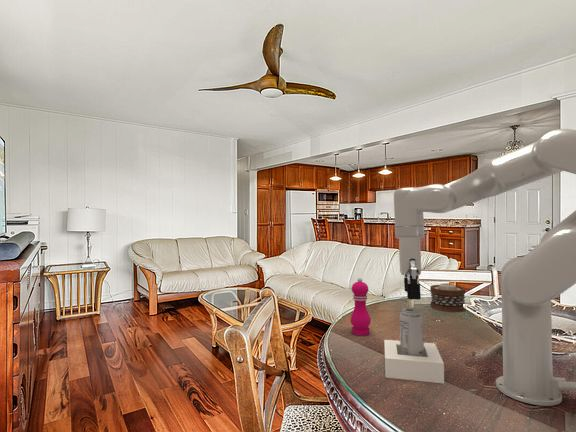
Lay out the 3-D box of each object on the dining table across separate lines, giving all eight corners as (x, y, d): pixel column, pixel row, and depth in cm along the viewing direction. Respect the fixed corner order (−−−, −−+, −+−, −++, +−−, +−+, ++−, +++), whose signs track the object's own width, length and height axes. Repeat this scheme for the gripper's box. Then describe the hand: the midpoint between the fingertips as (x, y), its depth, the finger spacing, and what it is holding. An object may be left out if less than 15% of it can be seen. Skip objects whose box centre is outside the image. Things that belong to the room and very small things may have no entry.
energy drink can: (426, 370, 89) (425, 313, 89) (402, 368, 90) (401, 312, 90) (421, 360, 95) (420, 307, 95) (398, 359, 96) (397, 306, 96)
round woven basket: (473, 286, 148) (442, 288, 146) (474, 311, 148) (443, 313, 146) (451, 280, 163) (423, 282, 160) (452, 303, 163) (423, 305, 160)
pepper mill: (371, 336, 118) (370, 279, 118) (350, 335, 119) (349, 279, 120) (370, 330, 125) (369, 276, 125) (350, 329, 127) (349, 275, 127)
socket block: (435, 360, 97) (434, 343, 97) (444, 383, 84) (443, 363, 84) (384, 356, 101) (384, 339, 101) (385, 377, 87) (385, 358, 87)
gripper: (393, 232, 102) (396, 288, 102) (396, 234, 85) (399, 302, 85) (420, 231, 100) (422, 289, 100) (428, 233, 83) (431, 302, 83)
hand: (412, 295), depth 92 cm, fingers open, 9 cm apart
